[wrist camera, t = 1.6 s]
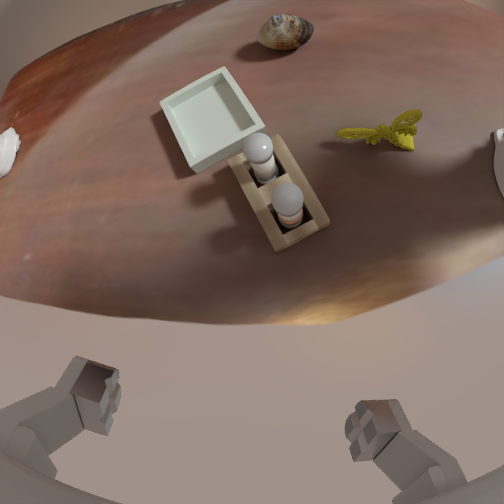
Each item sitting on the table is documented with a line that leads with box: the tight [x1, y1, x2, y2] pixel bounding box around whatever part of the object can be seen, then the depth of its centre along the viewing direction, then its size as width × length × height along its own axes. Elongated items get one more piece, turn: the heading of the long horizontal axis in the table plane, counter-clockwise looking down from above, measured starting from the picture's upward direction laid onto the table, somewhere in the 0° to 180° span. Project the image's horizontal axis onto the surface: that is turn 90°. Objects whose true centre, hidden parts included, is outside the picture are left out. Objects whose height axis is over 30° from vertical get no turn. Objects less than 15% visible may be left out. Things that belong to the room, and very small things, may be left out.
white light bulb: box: [242, 133, 279, 185], centre depth 37 cm, size 3×3×10 cm
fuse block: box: [227, 134, 331, 252], centre depth 40 cm, size 8×14×3 cm, turn 27°
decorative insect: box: [337, 110, 422, 151], centre depth 37 cm, size 13×3×10 cm
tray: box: [160, 66, 268, 174], centre depth 43 cm, size 12×14×3 cm
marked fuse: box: [271, 183, 304, 229], centre depth 36 cm, size 3×3×10 cm
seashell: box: [258, 14, 314, 50], centre depth 40 cm, size 10×6×8 cm, turn 97°
